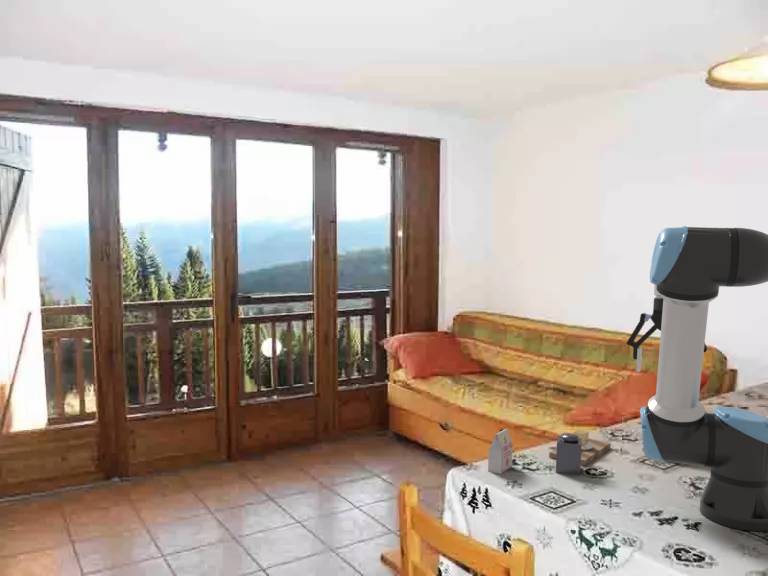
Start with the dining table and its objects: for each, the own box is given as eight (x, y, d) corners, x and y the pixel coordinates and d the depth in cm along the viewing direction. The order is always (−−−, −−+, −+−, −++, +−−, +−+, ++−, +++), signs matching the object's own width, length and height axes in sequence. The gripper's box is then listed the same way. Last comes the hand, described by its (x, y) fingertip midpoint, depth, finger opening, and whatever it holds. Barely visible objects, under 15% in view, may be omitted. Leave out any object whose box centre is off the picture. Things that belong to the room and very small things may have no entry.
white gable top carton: (487, 471, 168) (489, 433, 168) (499, 464, 174) (500, 427, 173) (501, 474, 166) (502, 435, 165) (511, 467, 172) (513, 429, 171)
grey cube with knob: (580, 475, 166) (581, 440, 166) (555, 472, 168) (557, 437, 167) (580, 467, 172) (582, 433, 171) (557, 465, 174) (558, 431, 173)
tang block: (584, 465, 174) (585, 443, 173) (549, 457, 180) (549, 436, 179) (610, 447, 189) (611, 427, 189) (577, 440, 195) (578, 421, 195)
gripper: (721, 299, 175) (716, 377, 176) (623, 293, 188) (620, 366, 189) (718, 301, 169) (714, 382, 170) (618, 295, 181) (614, 370, 183)
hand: (664, 374), depth 180 cm, fingers open, 13 cm apart
